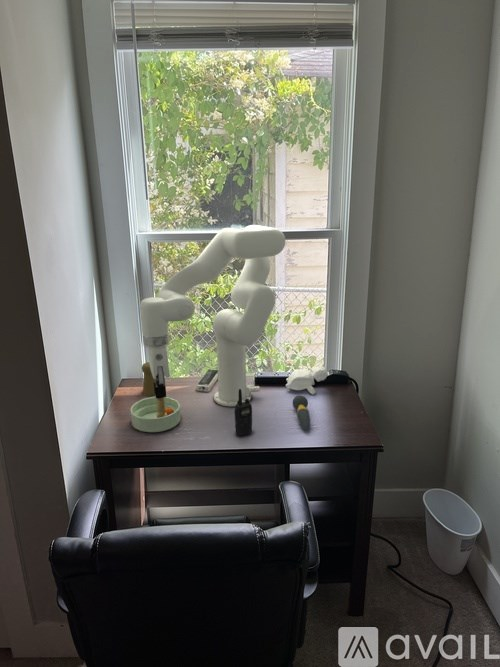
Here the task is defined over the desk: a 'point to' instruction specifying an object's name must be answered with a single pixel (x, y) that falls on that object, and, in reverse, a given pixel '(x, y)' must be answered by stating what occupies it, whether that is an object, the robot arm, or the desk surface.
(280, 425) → the desk surface
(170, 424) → the bowl
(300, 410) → the dark grey microphone
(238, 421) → the two-way radio
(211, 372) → the multiport hub
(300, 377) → the white animal figurine
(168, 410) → the ball
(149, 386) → the cork
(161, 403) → the muddler
